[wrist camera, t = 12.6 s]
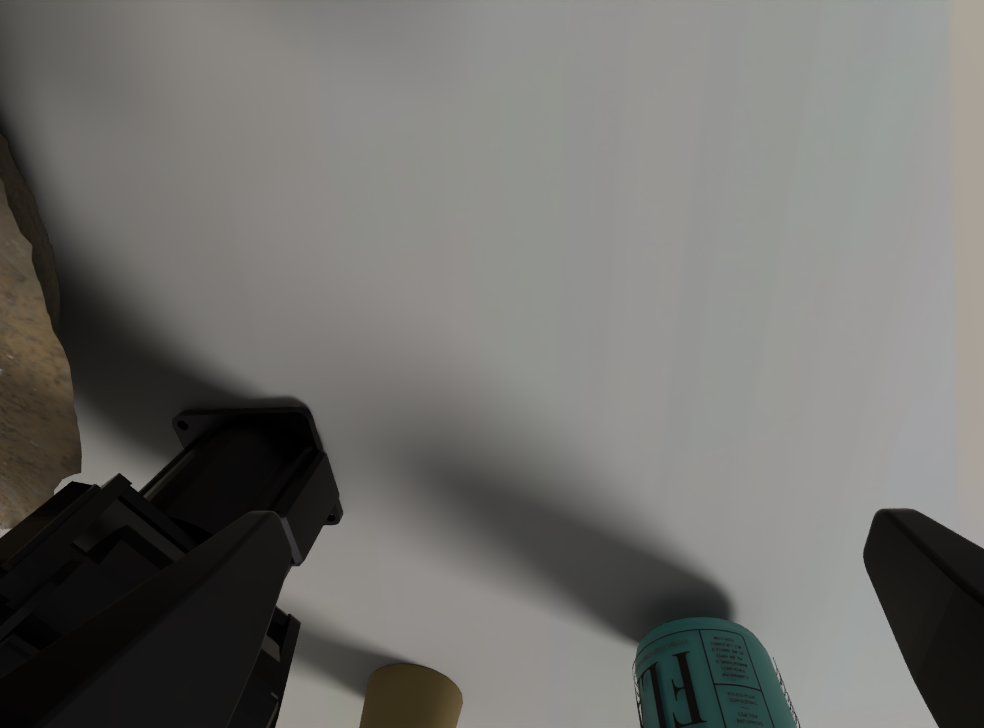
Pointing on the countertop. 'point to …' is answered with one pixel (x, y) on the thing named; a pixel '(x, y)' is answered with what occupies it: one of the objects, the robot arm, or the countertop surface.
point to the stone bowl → (30, 359)
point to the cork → (410, 699)
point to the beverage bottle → (708, 678)
